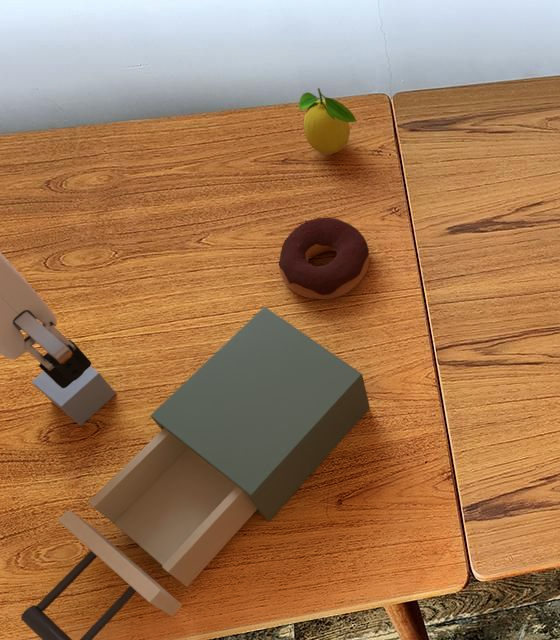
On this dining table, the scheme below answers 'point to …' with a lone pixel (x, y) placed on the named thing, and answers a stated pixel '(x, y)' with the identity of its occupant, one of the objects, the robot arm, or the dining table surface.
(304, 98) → the lemon
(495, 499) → the dining table surface
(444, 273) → the dining table surface
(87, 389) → the block
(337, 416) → the cabinet
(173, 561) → the drawer
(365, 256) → the donut
